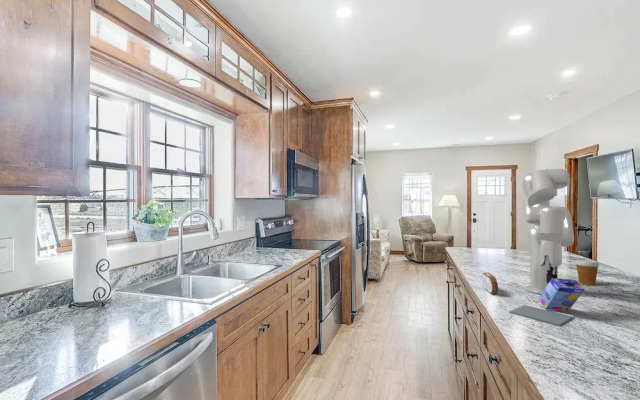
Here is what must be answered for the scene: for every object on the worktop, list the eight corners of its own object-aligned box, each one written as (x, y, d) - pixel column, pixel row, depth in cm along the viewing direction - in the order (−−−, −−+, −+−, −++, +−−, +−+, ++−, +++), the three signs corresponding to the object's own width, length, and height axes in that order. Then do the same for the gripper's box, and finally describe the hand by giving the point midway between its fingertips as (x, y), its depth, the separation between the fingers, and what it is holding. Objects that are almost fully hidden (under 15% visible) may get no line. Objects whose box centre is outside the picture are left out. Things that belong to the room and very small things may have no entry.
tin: (498, 296, 141) (498, 278, 141) (491, 296, 142) (491, 277, 142) (487, 287, 156) (487, 270, 156) (481, 287, 156) (481, 270, 156)
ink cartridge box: (545, 310, 120) (563, 282, 114) (537, 299, 125) (553, 272, 118) (570, 312, 121) (588, 284, 114) (560, 301, 126) (577, 274, 119)
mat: (525, 305, 128) (525, 304, 128) (573, 317, 115) (573, 315, 115) (509, 312, 120) (509, 311, 120) (559, 326, 107) (559, 324, 107)
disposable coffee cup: (571, 281, 167) (570, 259, 167) (590, 281, 165) (590, 259, 165) (583, 286, 157) (583, 262, 157) (604, 286, 156) (604, 262, 156)
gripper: (547, 236, 131) (548, 279, 131) (533, 238, 122) (533, 284, 122) (569, 237, 125) (570, 283, 125) (555, 239, 116) (556, 288, 116)
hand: (551, 283), depth 123 cm, fingers closed
